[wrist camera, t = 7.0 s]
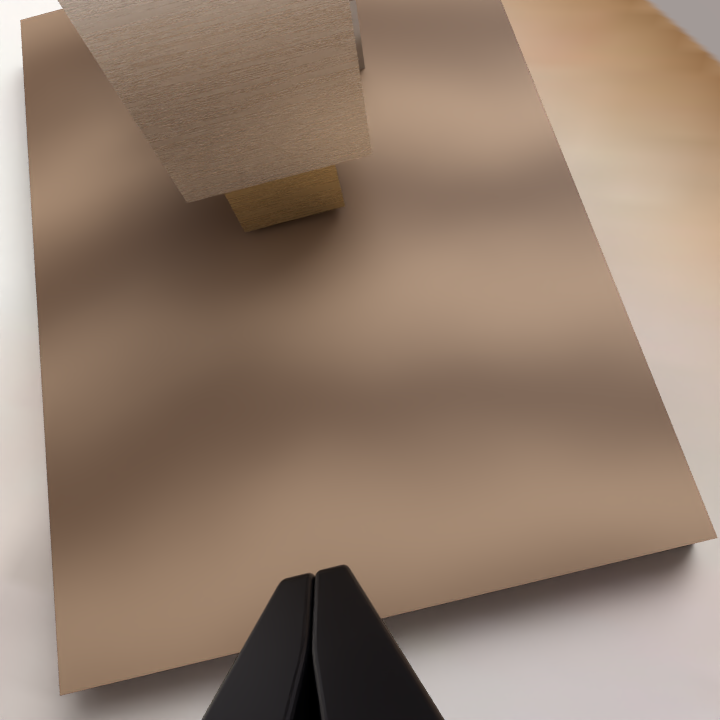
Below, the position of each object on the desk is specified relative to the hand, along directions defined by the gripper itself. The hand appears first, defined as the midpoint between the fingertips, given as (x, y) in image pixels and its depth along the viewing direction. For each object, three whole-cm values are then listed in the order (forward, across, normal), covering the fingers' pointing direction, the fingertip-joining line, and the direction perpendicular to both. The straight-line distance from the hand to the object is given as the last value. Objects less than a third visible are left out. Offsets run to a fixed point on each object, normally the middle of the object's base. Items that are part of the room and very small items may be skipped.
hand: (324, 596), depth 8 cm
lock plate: (+15, 0, -1) cm, 15 cm away
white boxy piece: (+16, 0, -5) cm, 17 cm away
